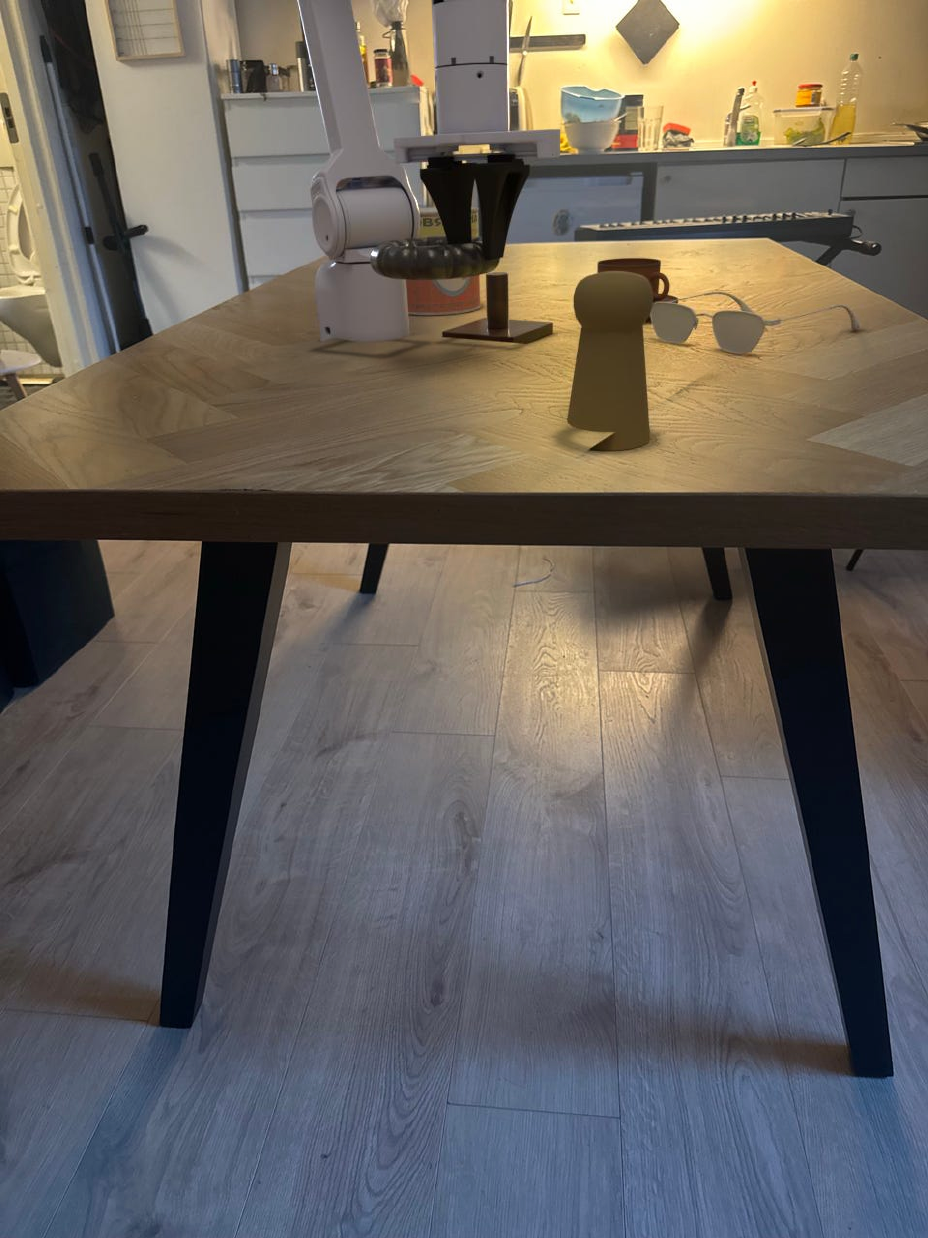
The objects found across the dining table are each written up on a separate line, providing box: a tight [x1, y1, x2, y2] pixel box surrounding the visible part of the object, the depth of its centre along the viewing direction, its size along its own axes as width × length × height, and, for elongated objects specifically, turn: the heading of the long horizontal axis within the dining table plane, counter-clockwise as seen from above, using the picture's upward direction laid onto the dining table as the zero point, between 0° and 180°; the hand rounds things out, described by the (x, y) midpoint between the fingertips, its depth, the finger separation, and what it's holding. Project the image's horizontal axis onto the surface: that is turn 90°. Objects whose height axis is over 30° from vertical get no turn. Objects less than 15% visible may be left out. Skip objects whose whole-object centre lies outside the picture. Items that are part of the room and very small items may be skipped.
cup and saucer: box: [596, 257, 679, 319], centre depth 102 cm, size 12×12×6 cm
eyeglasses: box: [649, 291, 861, 355], centre depth 90 cm, size 15×18×4 cm
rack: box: [441, 271, 554, 345], centre depth 93 cm, size 9×9×7 cm
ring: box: [370, 235, 501, 280], centre depth 74 cm, size 11×11×3 cm
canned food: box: [406, 205, 482, 316], centre depth 111 cm, size 11×11×12 cm
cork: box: [566, 271, 653, 452], centre depth 58 cm, size 6×6×11 cm
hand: (477, 258), depth 72 cm, fingers closed on ring, 3 cm apart
